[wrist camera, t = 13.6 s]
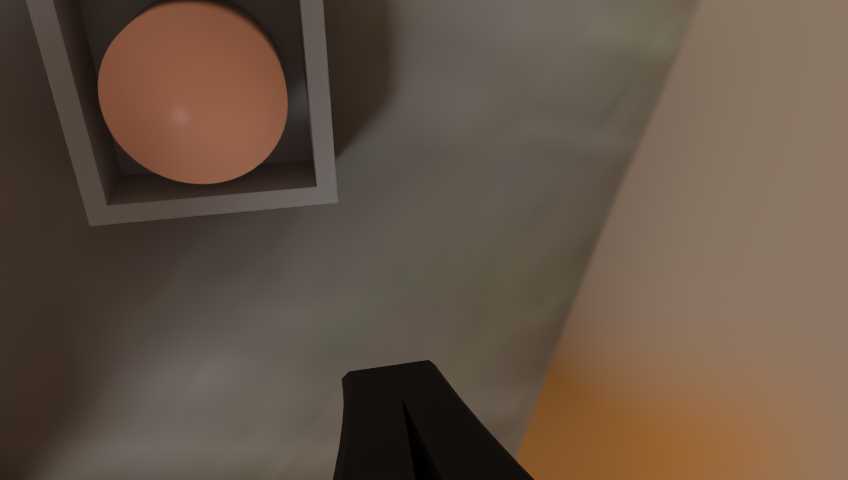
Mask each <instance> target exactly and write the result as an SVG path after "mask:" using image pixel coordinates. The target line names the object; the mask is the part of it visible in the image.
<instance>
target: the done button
mask: <svg viewBox="0 0 848 480" xmlns="http://www.w3.org/2000/svg"><path fill="white" fill-rule="evenodd" d="M98 97H99V103H100V108H101V111H102V114H103V117H104V120H105V122H106V124H107V126H108V128H109V130H110V132H111V133H112V135H113V137H114V138H115V140H116V141H117V142H118V143H119V145H120V146H121V147H122V148H123V149H124V150H125V151H126V152H127V153H128V154H129V155H130V156H131V157H132V158H133V159H134V160H136V161H137V162H138V163H140V164H141V165H142V166H144V167H146V168H147V169H149V170H151V171H152V172H154V173H156V174H159V175H161V176H163V177H166V178H169V179H172V180H175V181H180V182H185V183H192V184H213V183H219V182H224V181H228V180H232V179H234V178H237V177H239V176H242V175H244V174H246V173H247V172H249V171H251V170H253V169H254V168H255V167H257V166H258V165H259V164H261V163H262V162H263V161H264V160H265V159H266V158H267V157H268V156H269V155H270V153H271V152H272V151H273V149H274V148H275V146H276V145H277V143H278V141H279V139H280V137H281V135H282V132H283V130H284V127H285V123H286V119H287V110H288V99H287V89H286V82H285V74H284V68H283V63H282V60H281V57H280V54H279V51H278V49H277V47H276V45H275V43H274V41H273V40H272V38H271V36H270V35H269V34H268V32H267V31H266V30H265V29H264V27H263V26H262V25H261V24H260V23H259V22H258V21H257V20H256V19H255V18H254V17H253V16H251V15H250V14H249V13H247V12H246V11H245V10H243V9H241V8H240V7H238V6H236V5H235V4H232V3H230V2H228V1H226V0H160V1H157V2H155V3H153V4H152V5H150V6H148V7H146V8H145V9H144V10H143V11H141V12H140V13H139V14H138V15H137V16H136V17H135V18H134V19H133V20H132V21H131V22H130V23H129V24H128V25H127V26H126V27H125V28H124V29H123V30H122V31H121V32H120V33H119V34H118V35H117V37H116V38H115V39H114V40H113V42H112V43H111V45H110V46H109V48H108V49H107V51H106V53H105V56H104V58H103V60H102V64H101V67H100V71H99V78H98Z"/></svg>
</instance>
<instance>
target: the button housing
mask: <svg viewBox="0 0 848 480" xmlns="http://www.w3.org/2000/svg"><path fill="white" fill-rule="evenodd" d="M157 1H160V0H26V3H27V6H28V10H29V13H30V17H31V20H32V24H33V28H34V31H35V35H36V38H37V42H38V45H39V49H40V52H41V56H42V59H43V63H44V66H45V70H46V73H47V77H48V80H49V84H50V88H51V91H52V95H53V98H54V102H55V105H56V109H57V112H58V116H59V119H60V123H61V126H62V130H63V133H64V137H65V141H66V144H67V148H68V151H69V155H70V158H71V162H72V165H73V169H74V172H75V176H76V179H77V183H78V186H79V190H80V194H81V197H82V201H83V204H84V208H85V211H86V215H87V218H88V222H89V225H90V226H99V225H110V224H120V223H131V222H141V221H152V220H162V219H173V218H183V217H194V216H204V215H214V214H225V213H235V212H246V211H256V210H267V209H277V208H288V207H298V206H309V205H319V204H330V203H338V197H337V183H336V170H335V156H334V142H333V129H332V115H331V102H330V88H329V74H328V61H327V47H326V34H325V20H324V6H323V0H226V1H228V2H230V3H232V4H235V5H236V6H238V7H240V8H241V9H243V10H245V11H246V12H247V13H249V14H250V15H251V16H253V17H254V18H255V19H256V20H257V21H258V22H259V23H260V24H261V25H262V26H263V27H264V29H265V30H266V31H267V32H268V34H269V35H270V36H271V38H272V40H273V41H274V43H275V45H276V47H277V49H278V51H279V54H280V57H281V60H282V63H283V68H284V74H285V82H286V89H287V99H288V110H287V119H286V123H285V127H284V130H283V132H282V135H281V137H280V139H279V141H278V143H277V145H276V146H275V148H274V149H273V151H272V152H271V153H270V155H269V156H268V157H267V158H266V159H265V160H264V161H263V162H262V163H261V164H259V165H258V166H257V167H255V168H254V169H253V170H251V171H249V172H247V173H246V174H244V175H242V176H239V177H237V178H234V179H232V180H228V181H224V182H219V183H213V184H192V183H185V182H180V181H175V180H172V179H169V178H166V177H163V176H161V175H159V174H156V173H154V172H152V171H151V170H149V169H147V168H146V167H144V166H142V165H141V164H140V163H138V162H137V161H136V160H134V159H133V158H132V157H131V156H130V155H129V154H128V153H127V152H126V151H125V150H124V149H123V148H122V147H121V146H120V145H119V143H118V142H117V141H116V140H115V138H114V137H113V135H112V133H111V132H110V130H109V128H108V126H107V124H106V122H105V120H104V117H103V114H102V111H101V108H100V103H99V97H98V78H99V71H100V67H101V64H102V60H103V58H104V56H105V53H106V51H107V49H108V48H109V46H110V45H111V43H112V42H113V40H114V39H115V38H116V37H117V35H118V34H119V33H120V32H121V31H122V30H123V29H124V28H125V27H126V26H127V25H128V24H129V23H130V22H131V21H132V20H133V19H134V18H135V17H136V16H137V15H138V14H139V13H140V12H141V11H143V10H144V9H145V8H146V7H148V6H150V5H152V4H153V3H155V2H157Z"/></svg>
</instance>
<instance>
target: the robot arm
mask: <svg viewBox="0 0 848 480" xmlns="http://www.w3.org/2000/svg"><path fill="white" fill-rule="evenodd" d="M342 387H343V399H344V408H343V422H342V430H341V438H340V445H339V451H338V456H337V461H336V467H335V472H334V477H333V480H534V479H533V478H532V477H531V476H530V475H529V474H528V473H527V472H526V471H525V470H524V469H523V468H522V467H521V466H520V465H519V464H518V462H517V461H516V460H515V459H514V458H513V457H512V456H511V455H510V454H509V453H508V452H507V451H506V450H505V448H504V447H503V446H502V445H501V444H500V443H499V442H498V441H497V440H496V439H495V438H494V437H493V436H492V434H491V433H490V432H489V431H488V430H487V429H486V428H485V427H484V425H483V424H482V423H481V422H480V421H479V420H478V419H477V417H476V416H475V415H474V414H473V413H472V411H471V410H470V409H469V408H468V407H467V406H466V404H465V403H464V402H463V401H462V399H461V398H460V397H459V396H458V394H457V393H456V392H455V391H454V389H453V388H452V387H451V386H450V384H449V383H448V382H447V380H446V379H445V378H444V376H443V375H442V374H441V372H440V371H439V370H438V368H437V367H436V365H434V364H433V363H432V362H430V361H429V360H425V361H418V362H411V363H405V364H398V365H391V366H384V367H377V368H370V369H363V370H357V371H350V372H348V373H347V374H346V375H345V376H344V377H343V378H342Z"/></svg>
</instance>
